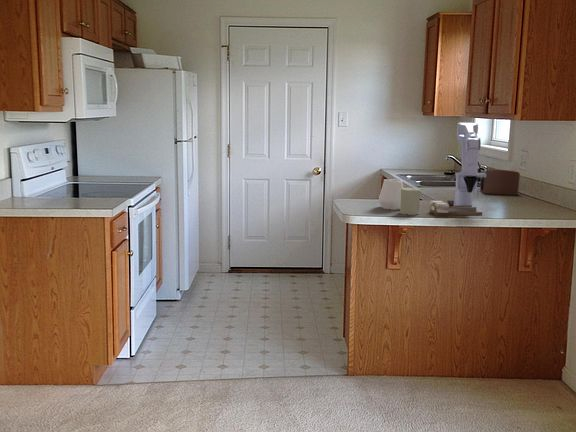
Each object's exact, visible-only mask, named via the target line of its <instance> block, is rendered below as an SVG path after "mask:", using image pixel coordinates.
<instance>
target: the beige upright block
mask: <svg viewBox="0 0 576 432" xmlns="http://www.w3.org/2000/svg"><path fill="white" fill-rule="evenodd" d="M420 198H421V189H420V188H417V187H403V188H401V203H400V209H399V214H401V215H406V214H408V215H409V216H415V215H416V214H417V215H420V203H421V201H420V200H421V199H420ZM408 215H407V216H408ZM417 215H416V216H417Z"/></svg>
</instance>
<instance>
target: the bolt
mask: <svg viewBox="0 0 576 432" xmlns="http://www.w3.org/2000/svg"><path fill="white" fill-rule="evenodd" d="M446 203H447V204H449V207H455V206H454V205H455V200H452V199H447V201H446ZM432 210H434V211H436V206H435V205H432Z"/></svg>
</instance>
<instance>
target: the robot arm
mask: <svg viewBox="0 0 576 432" xmlns="http://www.w3.org/2000/svg"><path fill="white" fill-rule="evenodd" d="M478 130H479V124H478V123H477V122H458V123H457V124H456V140H457V141H458V142H459V143H460V145H461V146H460V147H461V171H459V172H455V189H456V190H457V191H456V192H455V194H454V205H472V206H473V201H474V199H473V198H474V192H475V191H476V190H477V187H478V180H479V179H478V178H483V177H486V173H484V172H478V168H479V167H478V166H479V155H480V154H479V153H480V150H481V145H482V141H481V137H478Z"/></svg>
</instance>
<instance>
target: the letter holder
mask: <svg viewBox="0 0 576 432" xmlns="http://www.w3.org/2000/svg"><path fill="white" fill-rule="evenodd" d="M483 173H486V177H481V179H480V188H479V189H480V190H479V191H480V192H481V194H483V195H484V194H486V195H508V196H510V195H512V196H518V195H519V189H520V187H519V186H520V178H521V177H520V176H521V175H520V172H519V171H516V170H509V169H508V170H505V169H493V170H492V169H491V170H490V169H489V170H485V171H484V172H483Z"/></svg>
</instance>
